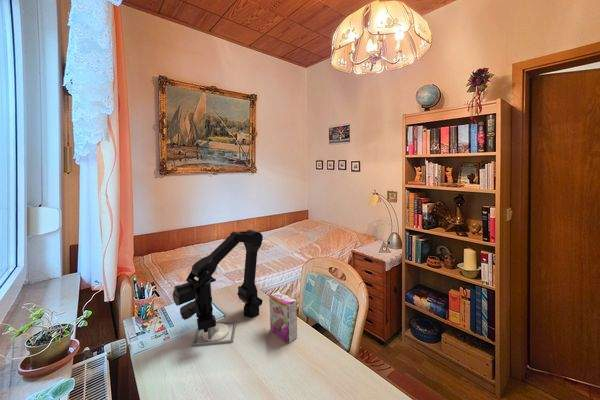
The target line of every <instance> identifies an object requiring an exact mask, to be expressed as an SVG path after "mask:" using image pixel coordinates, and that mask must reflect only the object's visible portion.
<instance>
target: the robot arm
mask: <svg viewBox="0 0 600 400" xmlns="http://www.w3.org/2000/svg"><path fill="white" fill-rule="evenodd" d="M263 239H264V237H263V234H262V233H261V232H259V231H257V230H254V229H247V230H246V231H245V230H241V231H236V230H235V231H231V233H230V234H229V235H228V237H226V239H224V240H223V241H222V242H221V243H220V244H219V245H218V246H217V247H216V248H215V249H214V250H213V251H212V252H211V253H210V254H209V255H207V256H204V257H202V258H201V259H199V260H198V261H196V262H195V263H194V264H192V266H191V270H190V272H189V274H188V276H187V278H186V280H185V281H186V283H182V284H178V285H175V286H174V290H173V291H172V292H173V293H172V300H173V302H174V304H175V306H177V307H178V306H181V305H182V306H181V307H180V308H179V313H180V316H181V319H183V321H186V320H188V319H190V318H192V317H193V316H194V315H195V317H196V324H197V330H200V331H203V330H204V333H206V332H208V328H211V327H215V326H216V322H217V320H216V316H215V315H214V314H213V311H214V308H213V297H212V296H213V295H212V283H214V282H216V281H217V279H216V278H214V277H213V274H214V273H215V272H216V270H217V267H218V265H219V264H220V263H221V261H223V259H225V257H227V255H228V254H229V253H231V252H232V250H234V249H235V248H236V247H237V246H238V244H240V243H243V246H244V248H245V261H244V272H243V283H242V284H241V285H238V287H237V294H236V295H237V296H238V297H237V298H238V299H239V300H240V301H241V303H244V305H243V317H244V318H245V317H247V318H252V319H253V318H256V317H257V316H260V307H261V306H262V305H263V298H260V297H258V296H259V295H258V288H257V285H256V283H255V282H256V273H257V272H256V271H257V262H258V252H259V250H260V249H261V246H262V243H263ZM183 304H185V305H183Z"/></svg>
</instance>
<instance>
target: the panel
mask: <svg viewBox="0 0 600 400" xmlns="http://www.w3.org/2000/svg"><path fill="white" fill-rule="evenodd" d="M217 323H222V324H225V325H229V324H232V325H233V324H234V325H233V330H232V334H231V335H232V336H231V339H228V340H220V341H215V342H207V341H206V342H196V341H197V338H198V336H199V334H200V331H201V330H198V329H197V331H196V333H195V335H194V338H193V341H192V343H191V347H192V348H193V347H202V346H203V347H206V346H214V345H224V344H234V341H235V340H234V338H235V334H236V327H237V320H228V321H216V324H217ZM200 336H201V337H203V336H202V333H201V334H200Z"/></svg>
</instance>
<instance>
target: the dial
mask: <svg viewBox="0 0 600 400" xmlns="http://www.w3.org/2000/svg"><path fill="white" fill-rule="evenodd" d="M201 334H202V336H201V337H202V340H204V341H206V342H215V341H223V340H224V339H225V338H226V337H227V336H228V335H229V326H228V324H222V323H217V324H216V326H215V327H211V328H208V332H206V333H204V330H202V333H201Z"/></svg>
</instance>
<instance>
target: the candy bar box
mask: <svg viewBox="0 0 600 400" xmlns="http://www.w3.org/2000/svg"><path fill="white" fill-rule="evenodd" d="M297 305H298V303H297V300H296V299H294V298H292V297H291V296H289V295H287V294H284V293H283V292H281V291H279V290H277V291H275V292H273V293H270V295H269V315H270V316H269V319H270V320H269V321H270V332H271V333H272V334H274V335H275V336H277V337H278V338H280V339H282V340H283V341H285V342H286V343H287V344H290V343H292V342H293V341H294V340H296V339H298V318H297V317H298V314H297V313H298V312H297V311H298V306H297ZM291 341H292V342H291Z"/></svg>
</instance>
